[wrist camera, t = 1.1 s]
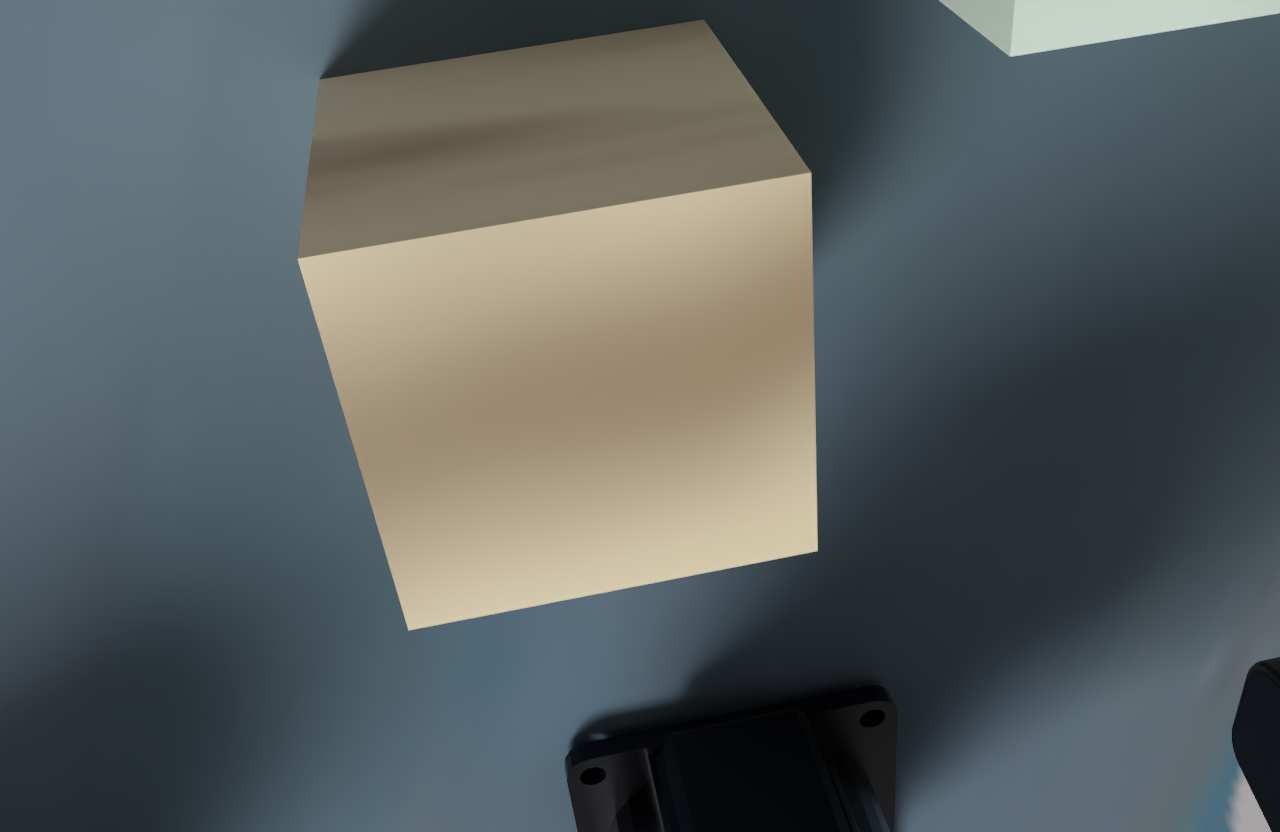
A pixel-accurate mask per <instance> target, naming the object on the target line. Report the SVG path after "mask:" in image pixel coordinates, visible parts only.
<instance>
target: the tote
mask: <svg viewBox="0 0 1280 832" xmlns="http://www.w3.org/2000/svg"><path fill="white" fill-rule="evenodd" d="M939 1H940V2H941V3H943V4H944V5H945V6H947V7H948V8H949V9H950V10H952V11H953V12H954V13H955V14H957V15H958V16H959V17H960V18H962V19H963V20H964V21H965V22H967V23H968V24H969V25H971V26H972V27H973V28H974V29H976V30H977V31H978V32H979V33H981V34H982V35H983V36H984V37H986V38H987V39H988V40H989V41H991V42H992V43H993V44H994V45H996V46H997V47H998V48H1000V49H1001V50H1002V51H1003V52H1005V53H1006V54H1007V55H1008V56H1010V57H1013V56H1019V55H1025V54H1031V53H1037V52H1043V51H1050V50H1056V49H1062V48H1068V47H1074V46H1081V45H1087V44H1093V43H1099V42H1105V41H1111V40H1118V39H1124V38H1130V37H1136V36H1142V35H1148V34H1155V33H1161V32H1167V31H1173V30H1179V29H1185V28H1192V27H1198V26H1204V25H1210V24H1216V23H1223V22H1229V21H1235V20H1241V19H1247V18H1253V17H1260V16H1266V15H1272V14H1278V13H1280V0H939Z"/></svg>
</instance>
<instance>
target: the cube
mask: <svg viewBox="0 0 1280 832" xmlns="http://www.w3.org/2000/svg"><path fill="white" fill-rule="evenodd" d="M297 259H298V262H299V265H300V269H301V272H302V276H303V279H304V282H305V286H306V289H307V292H308V296H309V299H310V302H311V306H312V309H313V312H314V316H315V319H316V322H317V326H318V329H319V332H320V336H321V339H322V342H323V346H324V349H325V352H326V356H327V359H328V363H329V366H330V369H331V373H332V376H333V379H334V383H335V386H336V389H337V393H338V396H339V399H340V403H341V406H342V409H343V413H344V416H345V419H346V423H347V426H348V429H349V433H350V436H351V439H352V443H353V446H354V450H355V453H356V456H357V460H358V463H359V466H360V470H361V473H362V476H363V480H364V483H365V486H366V490H367V493H368V496H369V500H370V503H371V506H372V510H373V513H374V516H375V520H376V523H377V526H378V530H379V533H380V537H381V540H382V543H383V547H384V550H385V553H386V557H387V560H388V563H389V567H390V570H391V573H392V577H393V580H394V583H395V587H396V590H397V593H398V597H399V600H400V603H401V607H402V610H403V613H404V617H405V620H406V624H407V627H408V630H414V629H419V628H424V627H429V626H435V625H440V624H445V623H450V622H455V621H460V620H465V619H471V618H476V617H481V616H486V615H491V614H496V613H502V612H507V611H512V610H517V609H522V608H527V607H532V606H538V605H543V604H548V603H553V602H558V601H563V600H569V599H574V598H579V597H584V596H589V595H594V594H599V593H605V592H610V591H615V590H620V589H625V588H630V587H636V586H641V585H646V584H651V583H656V582H661V581H666V580H672V579H677V578H682V577H687V576H692V575H697V574H703V573H708V572H713V571H718V570H723V569H728V568H734V567H739V566H744V565H749V564H754V563H759V562H764V561H770V560H775V559H780V558H785V557H790V556H795V555H801V554H806V553H811V552H816V551H818V534H817V475H816V416H815V357H814V298H813V239H812V179H811V171H810V170H809V168H808V167H807V165H806V164H805V163H804V161H803V160H802V158H801V157H800V155H799V154H798V153H797V151H796V150H795V148H794V147H793V145H792V144H791V143H790V141H789V140H788V138H787V137H786V136H785V134H784V133H783V131H782V130H781V128H780V127H779V126H778V124H777V123H776V121H775V120H774V118H773V117H772V116H771V114H770V113H769V111H768V110H767V108H766V107H765V106H764V104H763V103H762V101H761V100H760V98H759V97H758V96H757V94H756V93H755V91H754V90H753V88H752V87H751V86H750V84H749V83H748V81H747V80H746V78H745V77H744V76H743V74H742V73H741V71H740V70H739V68H738V67H737V66H736V64H735V63H734V61H733V60H732V58H731V57H730V56H729V54H728V53H727V51H726V50H725V48H724V47H723V46H722V44H721V43H720V41H719V40H718V39H717V37H716V36H715V34H714V33H713V31H712V30H711V29H710V27H709V26H708V24H707V23H706V21H705V20H698V21H691V22H685V23H679V24H672V25H666V26H659V27H653V28H647V29H640V30H634V31H627V32H621V33H614V34H608V35H602V36H595V37H589V38H582V39H576V40H570V41H563V42H557V43H550V44H544V45H537V46H531V47H525V48H518V49H512V50H505V51H499V52H493V53H486V54H480V55H473V56H467V57H460V58H454V59H448V60H441V61H435V62H428V63H422V64H416V65H409V66H403V67H396V68H390V69H383V70H377V71H371V72H364V73H358V74H351V75H345V76H339V77H332V78H326V79H319V88H318V96H317V104H316V112H315V120H314V128H313V136H312V144H311V153H310V161H309V169H308V177H307V185H306V193H305V201H304V209H303V218H302V226H301V234H300V242H299V250H298V258H297Z"/></svg>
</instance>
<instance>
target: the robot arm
mask: <svg viewBox="0 0 1280 832" xmlns="http://www.w3.org/2000/svg"><path fill="white" fill-rule="evenodd" d="M896 735H897V710H896V707H895V705H894V702H893V700H892V698H891V696H890V693H889V692H888V691H887V690H886V689H885V688H884V687H881V686H877V685H871V686H863V687H858V688H853V689H848V690H843V691H838V692H833V693H828V694H823V695H819V696H814V697H809V698H804V699H799V700H794V701H789V702H784V703H779V704H774V705H769V706H765V707H760V708H755V709H750V710H745V711H740V712H735V713H730V714H725V715H720V716H715V717H711V718H706V719H701V720H696V721H691V722H686V723H681V724H676V725H671V726H666V727H661V728H657V729H652V730H647V731H642V732H637V733H632V734H627V735H622V736H617V737H612V738H607V739H603V740H598V741H593V742H588V743H585V744H582V745H579V746H577V747H575V748H574V749H572V750H571V751H570V752H569V753H568V755H567V756H566V758H565V770H566V777H567V783H568V788H569V792H570V797H571V802H572V807H573V811H574V816H575V821H576V825H577V830H578V832H893V812H894V787H895V761H896ZM1232 743H1233V749H1234V752H1235V755H1236V758H1237V761H1238V763H1239V765H1240V767H1241V769H1242V771H1243V774H1244V776H1245V778H1246V780H1247V782H1248V784H1249V786H1250V788H1251V790H1252V792H1253V794H1254V796H1255V798H1256V800H1257V802H1258V804H1259V806H1260V808H1261V811H1262V812H1263V815H1264V817H1265V819H1266V821H1267V823H1268V825H1269V827H1270V829H1271V831H1272V832H1280V657H1278V658H1273V659H1268V660H1263V661H1260V662H1257V663H1255V664H1254V665H1253V666H1252V667H1251V668H1250V669H1249V671H1248V674H1247V677H1246V680H1245V684H1244V688H1243V691H1242V695H1241V698H1240V702H1239V706H1238V709H1237V713H1236V716H1235V720H1234V723H1233V728H1232ZM591 767H593V768H591Z"/></svg>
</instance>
